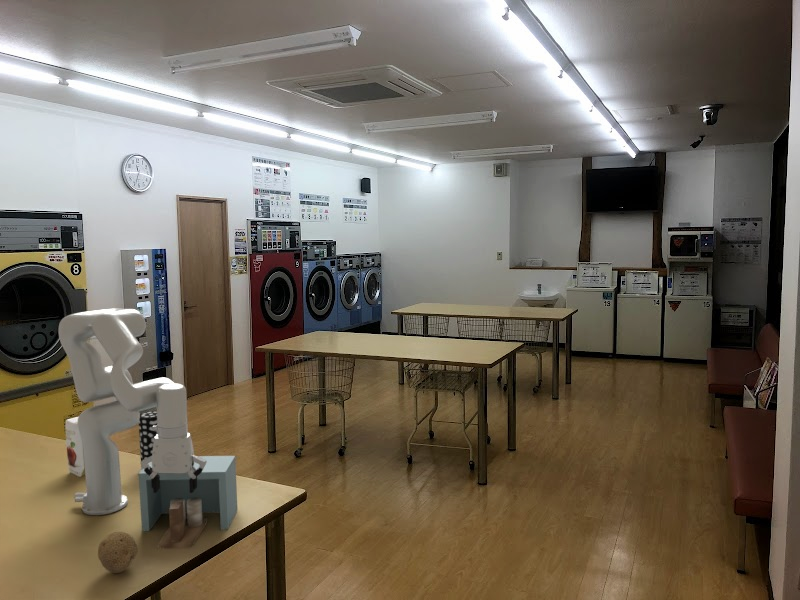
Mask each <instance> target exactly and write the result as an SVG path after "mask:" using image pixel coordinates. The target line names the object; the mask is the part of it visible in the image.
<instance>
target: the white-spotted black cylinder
mask: <svg viewBox="0 0 800 600" xmlns="http://www.w3.org/2000/svg"><path fill="white" fill-rule="evenodd" d="M156 425H157V410H148V411H144V412H143V411H142V412H141V413H140V419H139V422H138V436H139V451H140V454H139V455H140V463H141V462H142V460H144V459H146V458H148V457H150V456H152V453H153V443H154V438H155V436H156V435H157V432H156V431H152V427H153V426H156ZM140 466H141V465H140ZM142 469H143V467H142V466H141V468H140V471H141V470H142Z"/></svg>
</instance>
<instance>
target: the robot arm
mask: <svg viewBox="0 0 800 600" xmlns="http://www.w3.org/2000/svg"><path fill="white" fill-rule="evenodd" d="M146 329H147V323H146V319H145V317H144V316H143V314H142V313H141V311H139V310H137V309H134V308H120V307H119V308H106V309H105V308H104V309H98V310H97V309H96V310H89V311H79V312H76V313H75V312H74V313H71V314H68V315H66V316H65V317H63V318H62V319H61V320H60V321H59V325H58V337H59V341H60V342H59V343H60V344H61V347H62V348H63V350H64V352H65V353H66V354H65V355H67V358H68V361H69V364H70V370H71V373H72V379H73V382H74V383H73V384H74V387H75V390H76V391H75V392H76V394H77V397H78V399H79V400H80V401H82V402H83V403H93V402H97V401H103V400H106V399H110V398H114V399H113V400H114V401H110V402H105V403H102V404H98V405H94V406H91V407H88V408H85V410H83V411H82V412H81V413H80V414H79V416H77V417H78V428H79V431H80V435H81V439H82V443H83V451H84V463H85V475H84V476H85V485H86V486H85V488H86V492H76V493H74V502H75V503H80V502H81V503H83V504H82V506H81V510H82V512H83V513H84V514H86V515H87V516H102V515H108V514H113V513H115V512H118V511H120V510H121V509H123V508H125V507H126V506H127V505H128V502H129V501H128V497H127V496H126V495H124V494H122V480H121V467H120V466H121V465H120V452H119V451H120V450H119V446H118V445H117V443H116V442H115V441H114V440H113V439H111V435H114V434H117V433H120V432H123V431H126V430H129V429H132V428H135V427H136V426H138V425H139V423H138V422H139V419H140V414H141V413H140V412H143V411H146V410H150V409H153V408H156V411H157V425H156V426H153V427H152V431H156V432H157V435H156V436H155V438H154V443H153V453H152V456H150V457H148V458H146V459H144V460H142V462H141V461H140V466H142V467H143V469H144V472H145V473H147V474H148V475H149V477H150V479H151V483H152V488H153V493H156V492H157V491H158V490H159V489H160V475H159V474H186V473H187V474H188V475H189V476H190V477H191V478H190V480H189V485H190V493H193V492H194V490H195V489H196V488H197V476H198V475H199V474H200V473H201V472H202V471H203V469H204V467H205V465H206V463H207V461H206V460H204V459H202V458H200V457H198V456H197V455H195V453H194V451H195V450H194V444H193V441H192V435H191V434H190V433H191V432H188V431H189V430H188V404H187V403H188V401H187V399H188V398H187V388H186V386H185V385H184V384H181V383H176V382H174V381H173V380H172V379H171V378H168V377H163V376H162V377H158V378H153V379H149V380H144V381H139V382H136V383H134V382H133V378H132V374H131V373H130V371H129V370H128V369H130V367H132V366H133V365H135V364H136V363H137V362H138V361H139V360H140V359H141V357H142V356H143V354H144V348H143V345H142V344H141V343H140V342H139V341H138V339H137V337H141V336H142V335H143V334H144V333H145V332H146ZM96 339H97V340H98V342H99V343H100V345H101V346H102V347H103V349H104V351H105V352H106V354H107V355H108V357H109V358H110V359H111V361H112V362H113V364H112V365H109V366H104V365H103V364H104V363H103V359H102V356H101V352H100V351H99V350H98V348H96V346H94V345H93V343H91V342H89V341H90V340H96ZM150 462H152V468H151V467H150V466H149V464H148V463H150ZM194 462H195V463H198V464H199V465H200V466H199V468H198V469H197V470H196V469H195V467H194Z"/></svg>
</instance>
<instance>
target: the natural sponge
mask: <svg viewBox="0 0 800 600" xmlns="http://www.w3.org/2000/svg"><path fill="white" fill-rule="evenodd" d="M138 547H139V546H138V544H137V541H136V540H135V538H134V537H133V536H132V535H130V534H129V533H128V532H127V533H126V532H125V531H124V532H123V531H116V532H113V533H112V532H111V533H110V534H109V535H107V536H105V538H104V539H102V540H101V542H99V545H98V548H97V557H98V560H99V561H100V564H101V565H102V567H103V568H104V569H105V570H107V571H109V572H111V573H113V574H121V573H123V571H126V570H127V569H129V567H130V565H131V563H132V562H133V560H134V559H136V557H137V555H138V550H139V549H138Z"/></svg>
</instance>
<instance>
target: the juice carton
mask: <svg viewBox="0 0 800 600" xmlns="http://www.w3.org/2000/svg"><path fill="white" fill-rule="evenodd" d="M78 417H79V416H75V417H71V418H68V419H65V427H64V428H65V429H64V430H65V440H66V444H65V445H66V454H67V456H66V457H67V467H68V471H69V473H70V474H73V475H75V476H76V477H81V478H82V477H83V476H85V463H84V451H83V443H82V439H81V435H80V431H79V428H78Z"/></svg>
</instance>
